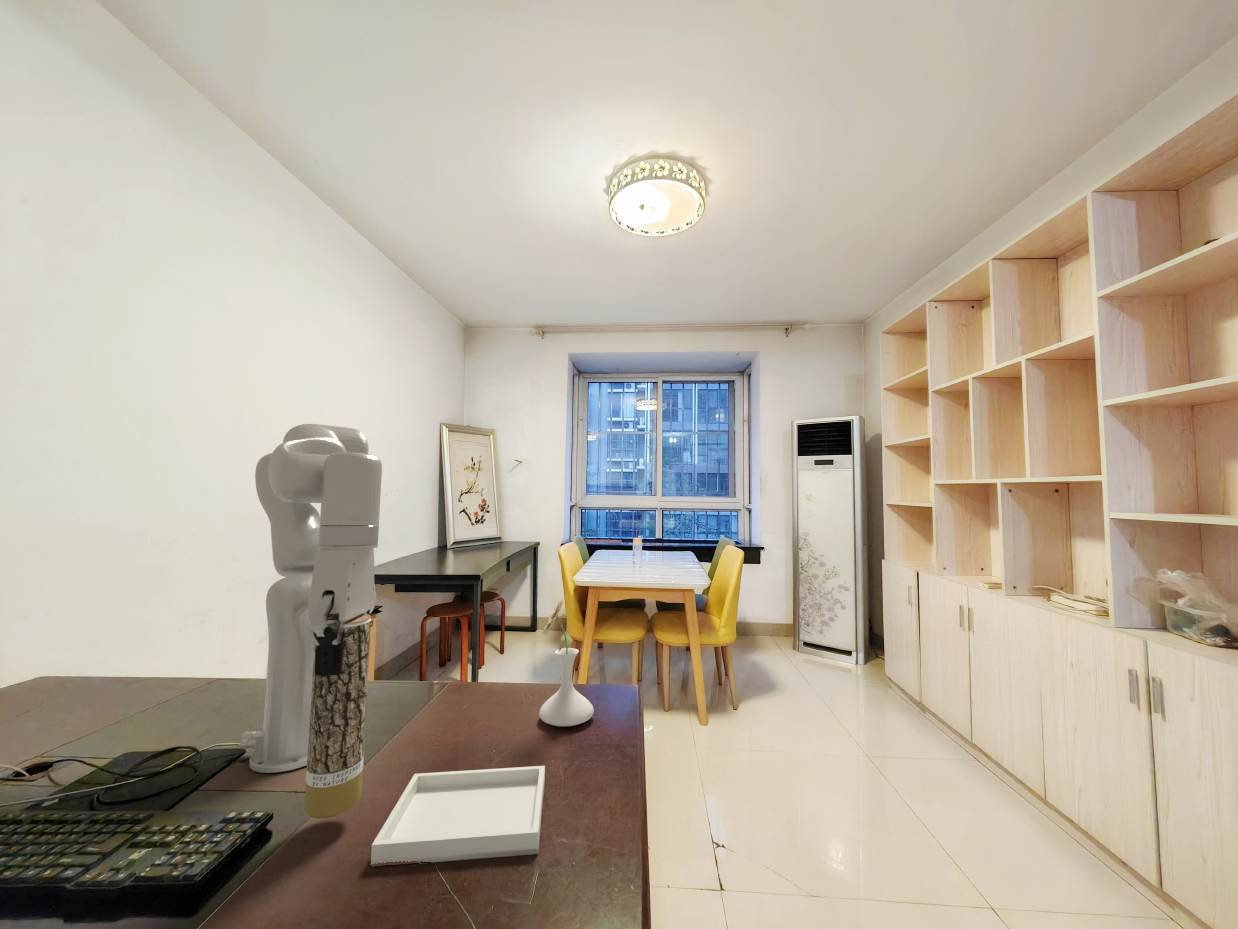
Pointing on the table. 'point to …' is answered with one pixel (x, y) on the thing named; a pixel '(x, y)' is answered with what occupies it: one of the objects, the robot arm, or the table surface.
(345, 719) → the paper tube
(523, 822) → the tray
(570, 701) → the flower in vase
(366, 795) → the table surface
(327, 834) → the table surface
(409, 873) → the table surface
